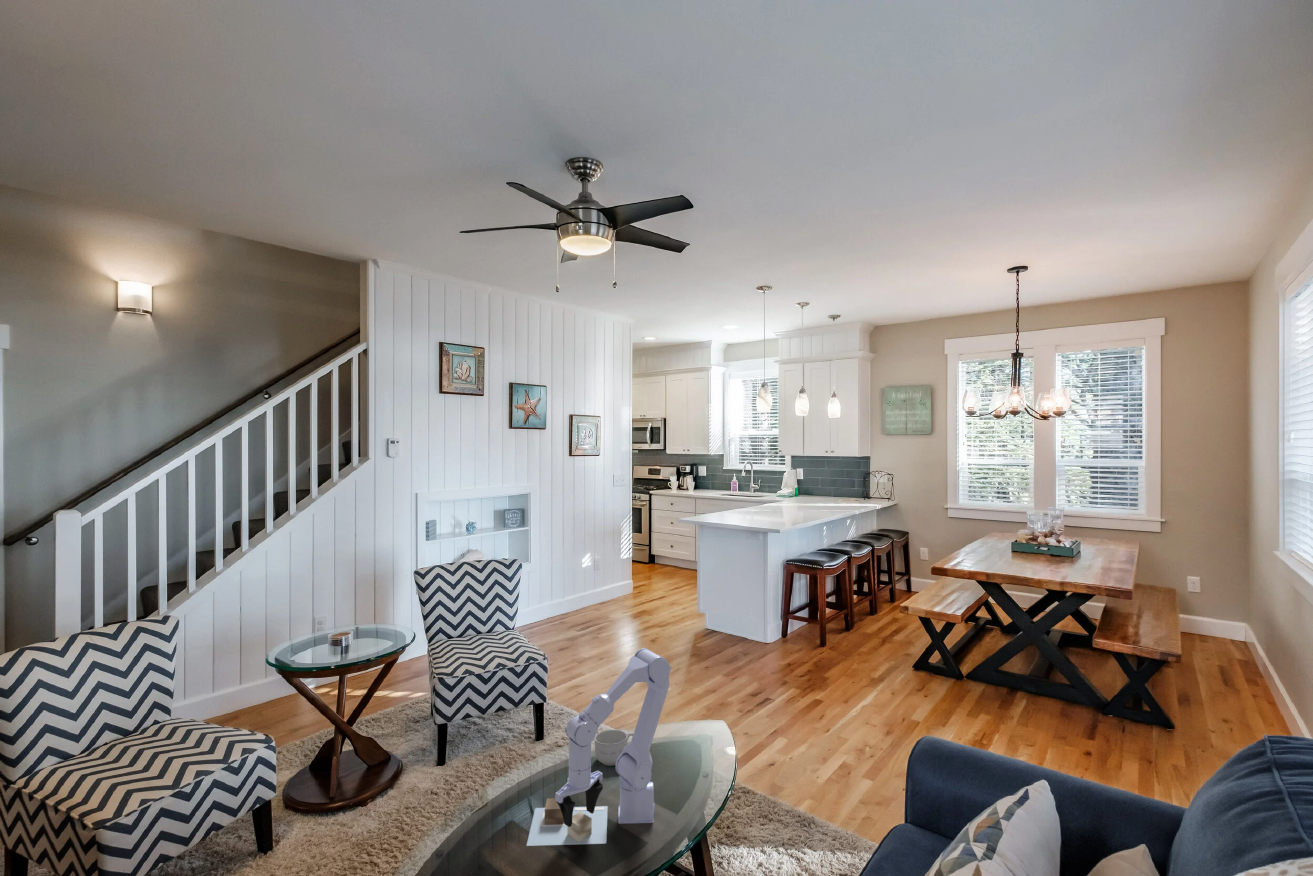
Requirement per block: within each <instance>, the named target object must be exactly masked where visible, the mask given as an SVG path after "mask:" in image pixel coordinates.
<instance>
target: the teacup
mask: <svg viewBox="0 0 1313 876" xmlns="http://www.w3.org/2000/svg"><path fill="white" fill-rule="evenodd" d="M633 734H634V732H632V731H630V732H629V731H628V733H627V732H625V731H624V730H621V729H606V730H602V731H600V732H598V733H596V735H595V738H594V740H593V741H594V753H595V757H596V759H597V761H598V762H600V763H601V764H603V766H610V767H611V766H616V761H617V759H618V757H619V756H620V755H621V753H622V751H623V748H624V747H625V746H626V745H628V744H630V743H631V741H630V742H629V743H628V740H629V738H630V737H633Z"/></svg>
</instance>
